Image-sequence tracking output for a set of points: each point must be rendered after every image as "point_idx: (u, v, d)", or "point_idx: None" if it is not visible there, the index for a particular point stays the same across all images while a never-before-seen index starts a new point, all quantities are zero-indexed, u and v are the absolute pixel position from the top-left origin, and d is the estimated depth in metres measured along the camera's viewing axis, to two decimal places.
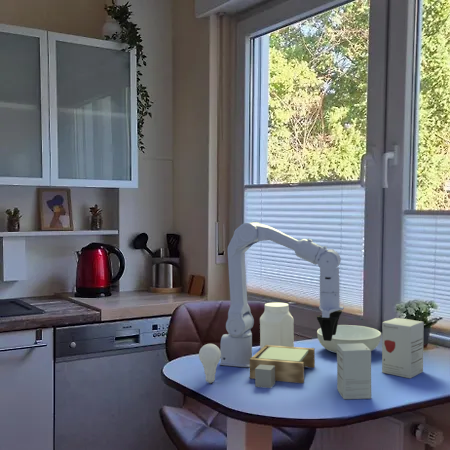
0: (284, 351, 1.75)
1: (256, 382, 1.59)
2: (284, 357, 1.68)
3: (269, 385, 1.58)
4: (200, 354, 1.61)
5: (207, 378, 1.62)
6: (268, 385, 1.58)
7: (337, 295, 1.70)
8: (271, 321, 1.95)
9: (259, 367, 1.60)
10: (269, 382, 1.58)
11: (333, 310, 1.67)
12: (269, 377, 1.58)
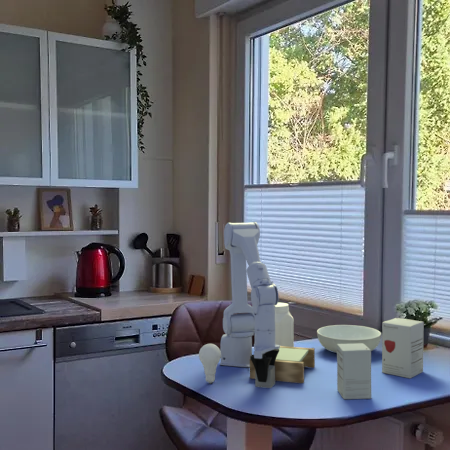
0: (284, 351, 1.75)
1: (256, 382, 1.59)
2: (284, 357, 1.68)
3: (269, 385, 1.58)
4: (200, 354, 1.61)
5: (207, 378, 1.62)
6: (268, 385, 1.58)
7: (272, 333, 1.58)
8: None
9: None
10: (269, 382, 1.58)
11: (267, 350, 1.56)
12: (269, 377, 1.58)
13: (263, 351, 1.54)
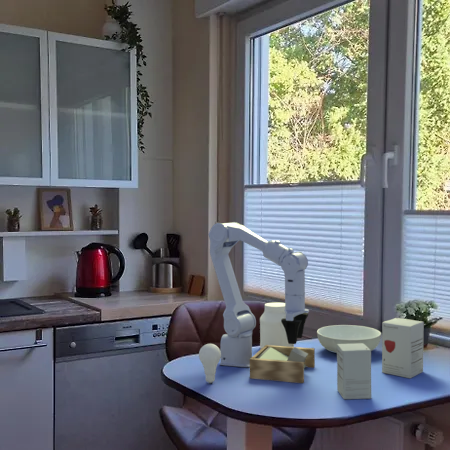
0: (283, 358, 1.75)
1: None
2: None
3: None
4: (200, 354, 1.61)
5: (207, 378, 1.62)
6: None
7: (302, 298, 1.68)
8: (271, 321, 1.95)
9: (294, 350, 1.70)
10: None
11: (297, 313, 1.66)
12: None
13: (294, 314, 1.65)
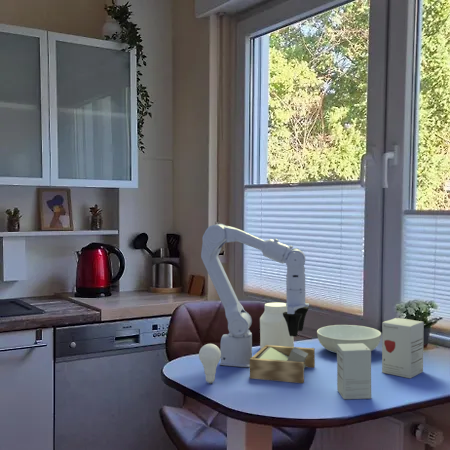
0: (283, 358, 1.75)
1: None
2: None
3: None
4: (200, 354, 1.61)
5: (207, 378, 1.62)
6: None
7: (303, 292, 1.76)
8: (271, 321, 1.95)
9: (294, 350, 1.70)
10: None
11: (298, 307, 1.74)
12: None
13: (295, 307, 1.73)
